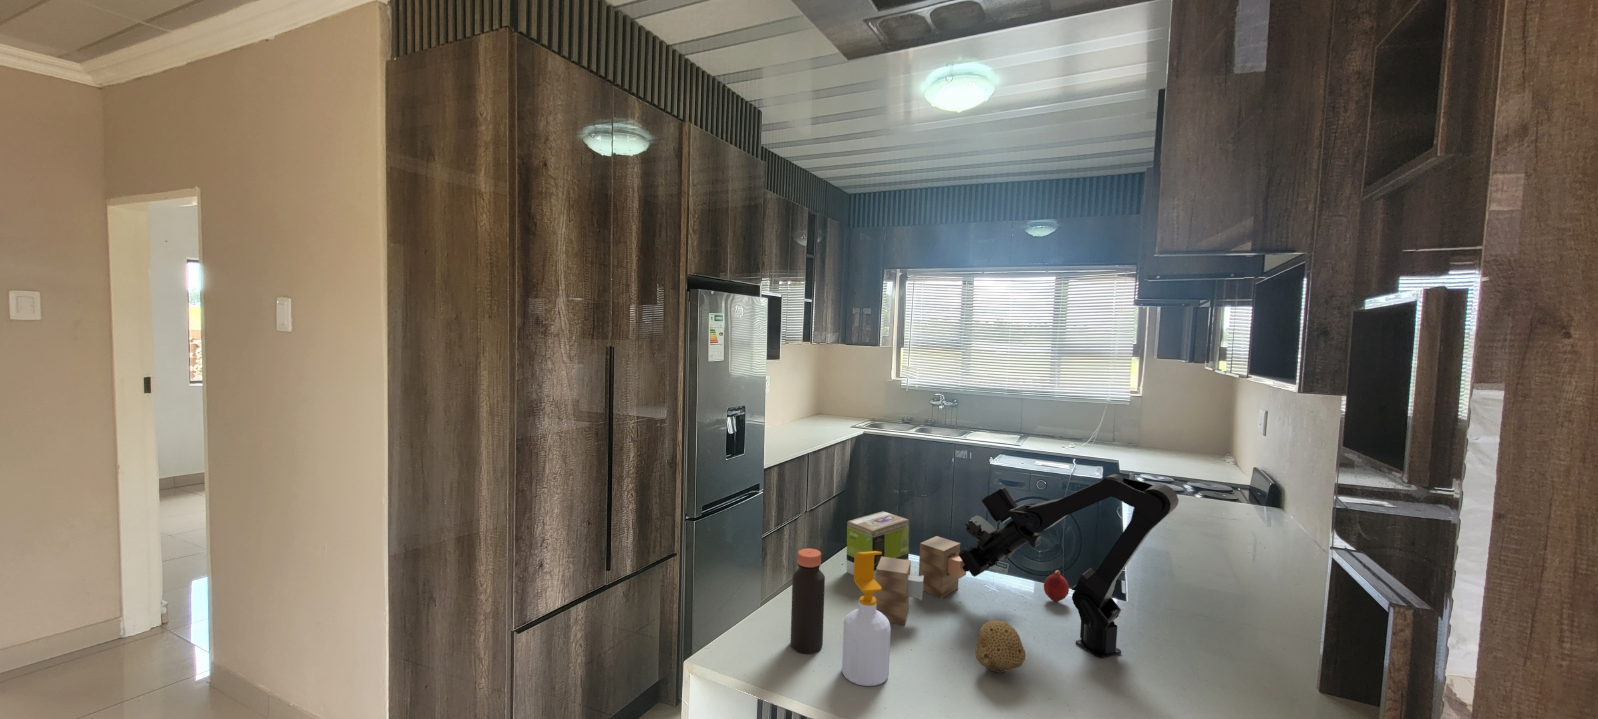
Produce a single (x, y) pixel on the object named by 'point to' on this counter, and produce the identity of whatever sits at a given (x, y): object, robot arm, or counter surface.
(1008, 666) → the natural sponge
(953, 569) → the tan rectangular block
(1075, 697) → the counter surface
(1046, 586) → the onion
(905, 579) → the walnut block left
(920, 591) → the grey key
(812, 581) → the vinegar
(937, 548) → the walnut block right
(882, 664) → the soap bottle
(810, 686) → the counter surface
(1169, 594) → the counter surface
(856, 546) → the tea box
